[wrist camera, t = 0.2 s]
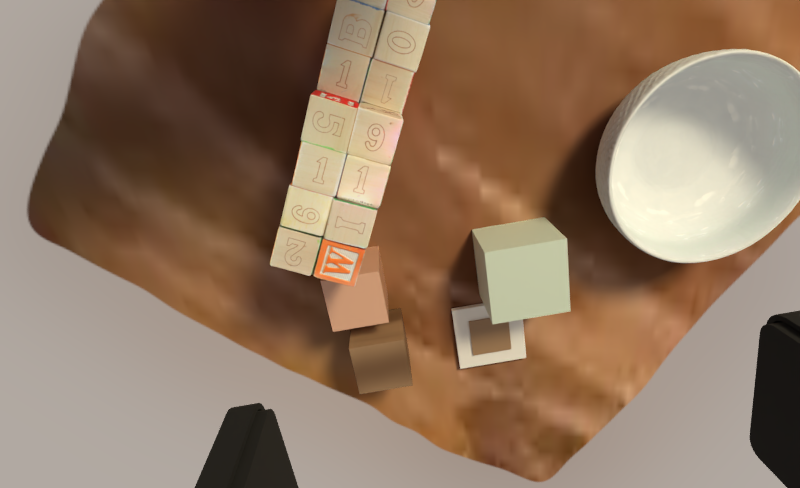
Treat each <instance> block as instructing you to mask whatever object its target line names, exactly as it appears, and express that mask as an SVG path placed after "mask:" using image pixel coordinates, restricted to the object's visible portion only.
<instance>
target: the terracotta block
mask: <svg viewBox="0 0 800 488" xmlns="http://www.w3.org/2000/svg"><path fill="white" fill-rule="evenodd" d="M320 282H321V286H322V290H323V294H324V298H325V302H326V306H327V310H328V314H329V318H330V322H331V326H332V330H333V332H335V331H341V330H347V329H353V328H359V327H365V326H371V325H377V324H383V323H389V312H388V292H387V287H386V281H385V276H384V271H383V266H382V261H381V256H380V251H379V246H374V247H368V248H366V250H365V254H364V258H363V261H362V264H361V268H360V271H359V274H358V278H357V281H356V284H355V286H354V287H353V286H348V285H344V284H340V283H335V282H332V281H328V280H324V279H321V281H320Z"/></svg>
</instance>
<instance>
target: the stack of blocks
mask: <svg viewBox="0 0 800 488" xmlns="http://www.w3.org/2000/svg"><path fill="white" fill-rule="evenodd" d="M435 4H436V0H337V2H336V6H335V11H334V15H333V20H332V24H331V28H330V32H329V37H328V41H327V45H326V48H325V53H324V57H323V61H322V66H321V71H320V75H319V80H318V85H317V90H315V91H314V92H312V93H311V95H310V99H309V103H308V108H307V112H306V117H305V122H304V126H303V131H302V135H301V145H300V149H299V154H298V158H297V162H296V167H295V171H294V175H293V180H292V182H291V183H290V185H289V188H288V192H287V196H286V201H285V205H284V209H283V213H282V217H281V221H280V226H279V228H278V232H277V236H276V240H275V244H274V248H273V251H272V256H271V260H270V265H271V266H274V267H278V268H282V269H285V270H289V271H293V272H297V273H300V274H304V275H307V276H311V275H313V276H314V277H317V278H320V279H324V280H328V281H332V282H335V283H340V284H344V285H348V286H353V287H354V286H355V284H356V281H357V278H358V274H359V271H360V268H361V264H362V261H363V258H364V254H365V250H366V248H367V247H368V243H369V239H370V236H371V232H372V229H373V225H374V221H375V218H376V214H377V209H378V208H379V207H380V205H381V201H382V198H383V194H384V191H385V187H386V184H387V180H388V177H389V173H390V168H391V163H392V161H393V157H394V154H395V150H396V146H397V143H398V139H399V136H400V132H401V129H402V125H403V118H402V113H403V110H404V106H405V103H406V100H407V97H408V93H409V90H410V87H411V84H412V81H413V77H414V74H415V72H417V69H418V66H419V63H420V60H421V57H422V54H423V50H424V47H425V44H426V40H427V37H428V33H429V30H430V24H429V23H430V20H431V17H432V13H433V10H434V7H435Z"/></svg>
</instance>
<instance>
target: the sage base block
mask: <svg viewBox="0 0 800 488" xmlns="http://www.w3.org/2000/svg"><path fill="white" fill-rule="evenodd" d="M472 237H473V245H474V253H475V262H476V270H477V278H478V287H479V295H480V297H481V299H482V302H483V304H484V306H485V308H486V311H487V313H488V315H489V317H490V320H491V322H492V324H498V323H504V322H510V321H516V320H522V319H528V318H534V317H540V316H545V315H551V314H557V313H563V312H569V311H570V291H569V269H568V248H567V238H566V237H565V236H564V235H563V234H562V233H561V232H560V231H559V230H558V229H556V228H555V227H554V226H553V225H552V224H551V223H550V222H549V221H548V220H547V219H546V218H545V217H543V218H537V219H531V220H525V221H519V222H513V223H508V224H502V225H496V226H490V227H484V228H479V229H473V230H472Z"/></svg>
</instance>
